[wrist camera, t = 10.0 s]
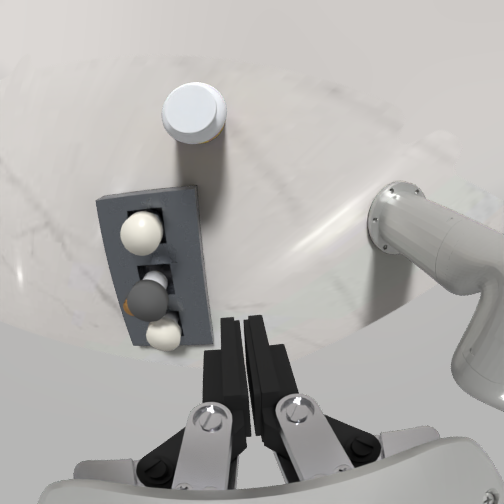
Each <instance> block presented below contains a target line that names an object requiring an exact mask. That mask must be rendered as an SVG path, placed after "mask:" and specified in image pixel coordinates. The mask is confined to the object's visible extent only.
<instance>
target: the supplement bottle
mask: <svg viewBox="0 0 504 504" xmlns="http://www.w3.org/2000/svg"><path fill="white" fill-rule="evenodd" d="M226 115H227V107H226V103H225V100H224V98H223V96H222V95H221V94H220V92H219V91H218V90H217V89H215V88H214V87H212V86H210V85H208V84H205V83H200V82H193V83H187V84H184V85H182V86H180V87H178V88H176V89H175V90H174V91H172V92H171V93H170V95H169V96H168V97H167V99H166V100H165V102H164V105H163V108H162V122H163V125H164V127H165V129H166V131H167V132H168V134H169V135H170V136H171V137H173V138H174V139H176V140H177V141H180V142H183V143H187V144H202V143H207V142H209V141H211V140H213V139H215V138H216V137H217V136H218V135H219V134H220V133H221V131H222V130H223V128H224V125H225V121H226Z"/></svg>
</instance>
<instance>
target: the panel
mask: <svg viewBox="0 0 504 504" xmlns="http://www.w3.org/2000/svg"><path fill="white" fill-rule="evenodd" d="M96 206H97V212H98V218H99V223H100V228H101V233H102V238H103V243H104V248H105V252H106V256H107V261H108V265H109V269H110V273H111V276H112V280H113V284H114V287H115V291H116V294H117V298H118V301H119V305H120V308H121V311H122V314H123V317H124V320H125V323H126V326H127V329H128V332H129V335H130V338H131V341H132V343H133V346H151V345H150V344H149V343H148V341H147V338H146V333H147V330H148V326H149V324H150V322H146V321H142V320H140V319H138V318H136V317H135V316H134V315H133V314H132V313H131V312H130V310H129V308H128V305H127V297H128V295H129V293H130V291H131V289H132V287H133V285H134V284H135V283H136V282H138V281H140V280H143V278H144V276H145V274H146V273H148V272H150V271H158V272H161V273H162V274H163V275H164V276H165V277H166V278H167V282H168V285H167V288H166V291H167V293H168V296H169V302H168V306H167V310H166V312H168V311H177V312H178V314H179V320H178V325H179V326H180V328H181V338H180V344H179V345H199V344H213V329H212V322H211V314H210V307H209V299H208V292H207V283H206V275H205V267H204V258H203V248H202V239H201V228H200V218H199V206H198V194H197V185H192V186H181V187H171V188H161V189H152V190H144V191H136V192H128V193H121V194H113V195H107V196H103V197H101V198H99V199H98V200H96ZM149 209H151V210H155V211H157V212H158V213H160V215H161V216H162V219H163V226H162V227H163V237H162V239H161V241H160V243H159V245H158V247H157V248H156V250H155V251H154V252H152V253H151V254H149V255H145V256H139V255H135V254H133V253H131V252H129V251H128V250H127V249H126V248H125V246H124V245H123V243H122V241H121V236H120V232H121V227H122V225H123V223H124V222H125V221H126V220H127V219H128V218H129V217H130V216H131V215H133V214H134V213H136V212H140V211H146V210H149Z"/></svg>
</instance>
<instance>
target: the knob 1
mask: <svg viewBox="0 0 504 504" xmlns="http://www.w3.org/2000/svg"><path fill="white" fill-rule="evenodd" d="M162 226H163V219H162V216H161V215H160V213H158V212H157V211H155V210H151V209H149V210H146V211H140V212H136V213H134V214H133V215H131V216H130V217H129V218H128V219H127V220H126V221H125V222H124V223H123V225H122V227H121V232H120V236H121V241H122V243H123V245H124V246H125V248H126V249H127V250H128V251H129V252H131V253H133V254H135V255H139V256H145V255H149V254H151V253H152V252H154V251H155V250H156V248H157V247H158V245H159V243H160V241H161V239H162V237H163V227H162Z"/></svg>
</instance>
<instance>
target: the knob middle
mask: <svg viewBox="0 0 504 504" xmlns="http://www.w3.org/2000/svg"><path fill="white" fill-rule="evenodd" d="M167 285H168V282H167V278H166V277H165V276H164V275H163V274H162V273H161V272H158V271H150V272H148V273H146V274H145V276H144V278H143V280H140V281H138V282H136V283H135V284H134V285H133V287H132V289H131V291H130V293H129V295H128V297H127V305H128V308H129V310H130V312H131V313H132V314H133V315H134V316H135V317H136V318H138V319H140V320H142V321H146V322H155V321H158V320H160V319H161V318H162V317H163V316H164V315H165V313H166V310H167V306H168V302H169V296H168V293H167V291H166V288H167Z"/></svg>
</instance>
